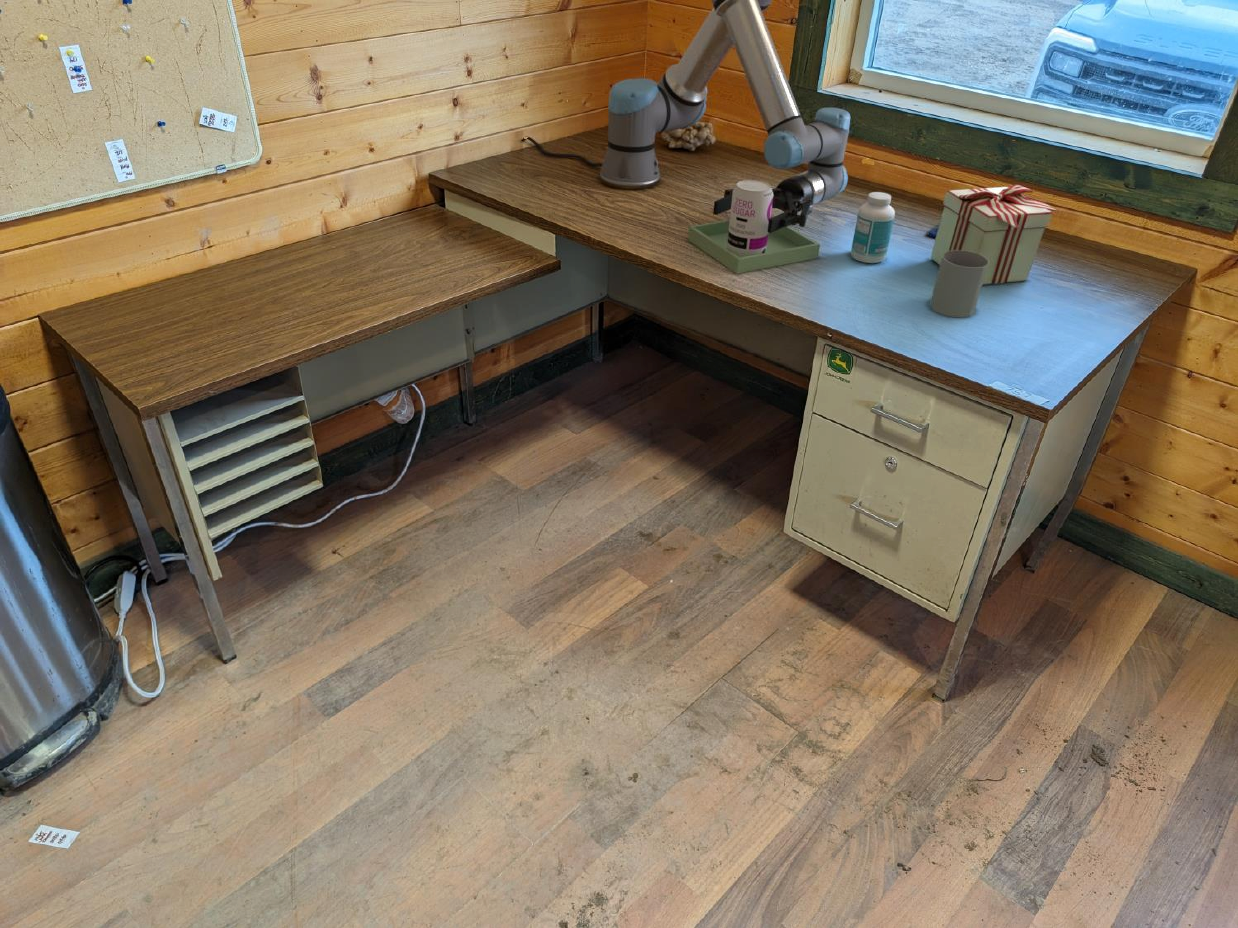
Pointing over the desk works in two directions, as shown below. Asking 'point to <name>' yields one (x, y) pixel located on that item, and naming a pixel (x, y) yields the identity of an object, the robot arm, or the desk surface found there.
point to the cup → (958, 283)
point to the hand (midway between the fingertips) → (741, 217)
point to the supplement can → (749, 218)
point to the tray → (779, 251)
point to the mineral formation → (690, 136)
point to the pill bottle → (873, 229)
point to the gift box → (993, 229)
